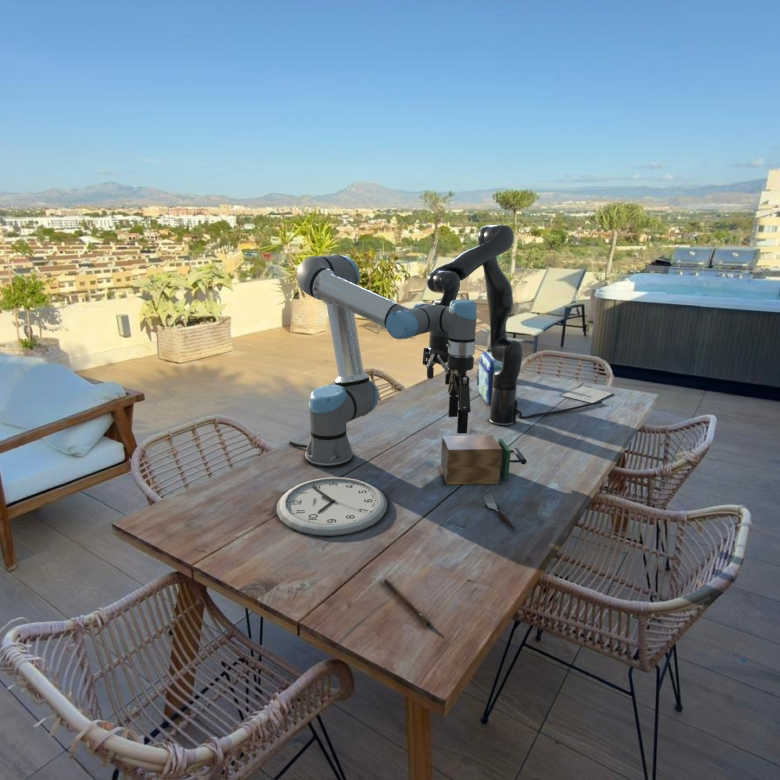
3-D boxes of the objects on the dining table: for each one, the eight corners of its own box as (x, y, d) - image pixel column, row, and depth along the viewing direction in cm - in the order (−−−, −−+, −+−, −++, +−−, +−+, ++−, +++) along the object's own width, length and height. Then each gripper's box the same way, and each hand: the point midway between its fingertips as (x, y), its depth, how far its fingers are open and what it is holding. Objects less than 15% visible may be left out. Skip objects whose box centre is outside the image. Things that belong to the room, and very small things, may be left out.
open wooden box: (489, 467, 167) (492, 435, 164) (499, 483, 157) (502, 449, 153) (440, 468, 166) (442, 435, 162) (446, 484, 156) (448, 449, 152)
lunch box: (475, 390, 246) (478, 346, 240) (498, 390, 246) (501, 347, 240) (484, 408, 221) (487, 360, 215) (509, 409, 221) (513, 360, 215)
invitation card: (582, 386, 254) (612, 393, 244) (582, 386, 255) (612, 393, 244) (561, 395, 240) (592, 402, 230) (561, 395, 240) (592, 403, 230)
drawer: (516, 465, 167) (518, 438, 164) (525, 479, 158) (528, 450, 155) (453, 466, 165) (455, 439, 162) (459, 480, 156) (461, 451, 153)
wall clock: (392, 527, 129) (268, 531, 127) (391, 533, 130) (269, 537, 127) (383, 473, 158) (282, 475, 155) (383, 478, 158) (282, 480, 156)
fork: (509, 531, 131) (510, 524, 131) (482, 501, 146) (482, 494, 145) (519, 530, 132) (519, 523, 132) (491, 499, 147) (491, 493, 146)
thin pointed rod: (383, 582, 112) (383, 578, 112) (385, 582, 112) (385, 578, 112) (426, 626, 100) (426, 621, 100) (428, 625, 100) (428, 620, 100)
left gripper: (440, 345, 161) (437, 410, 167) (456, 366, 137) (452, 440, 143) (464, 345, 162) (461, 410, 168) (484, 365, 138) (479, 440, 144)
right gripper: (465, 335, 167) (462, 384, 172) (434, 328, 177) (432, 374, 182) (448, 338, 162) (446, 388, 167) (418, 331, 173) (416, 378, 178)
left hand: (457, 424), depth 156 cm, fingers open, 13 cm apart
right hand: (439, 381), depth 175 cm, fingers open, 8 cm apart
